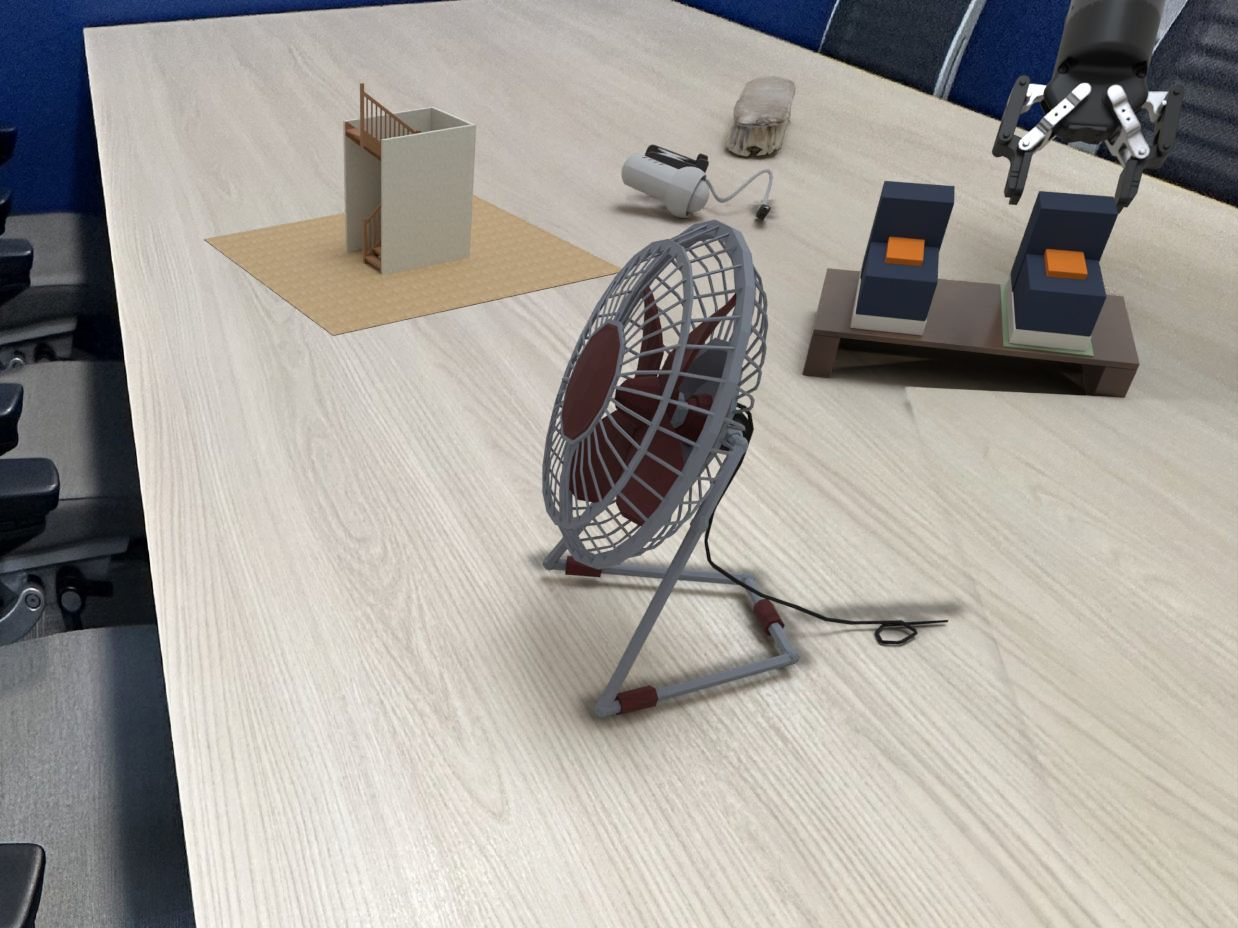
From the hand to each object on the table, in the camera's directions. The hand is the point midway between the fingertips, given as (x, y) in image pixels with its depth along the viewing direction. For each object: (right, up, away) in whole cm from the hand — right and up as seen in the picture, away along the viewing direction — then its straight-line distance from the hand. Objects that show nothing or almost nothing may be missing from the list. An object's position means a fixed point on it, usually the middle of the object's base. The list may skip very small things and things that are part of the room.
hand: (1066, 204), depth 108 cm
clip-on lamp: (-23, +18, +34) cm, 45 cm away
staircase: (-58, +9, +25) cm, 64 cm away
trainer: (-3, -11, -2) cm, 12 cm away
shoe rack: (-9, -13, +3) cm, 16 cm away
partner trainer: (-15, -8, +1) cm, 17 cm away
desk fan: (-39, -45, -28) cm, 66 cm away
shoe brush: (-9, +41, +55) cm, 69 cm away
